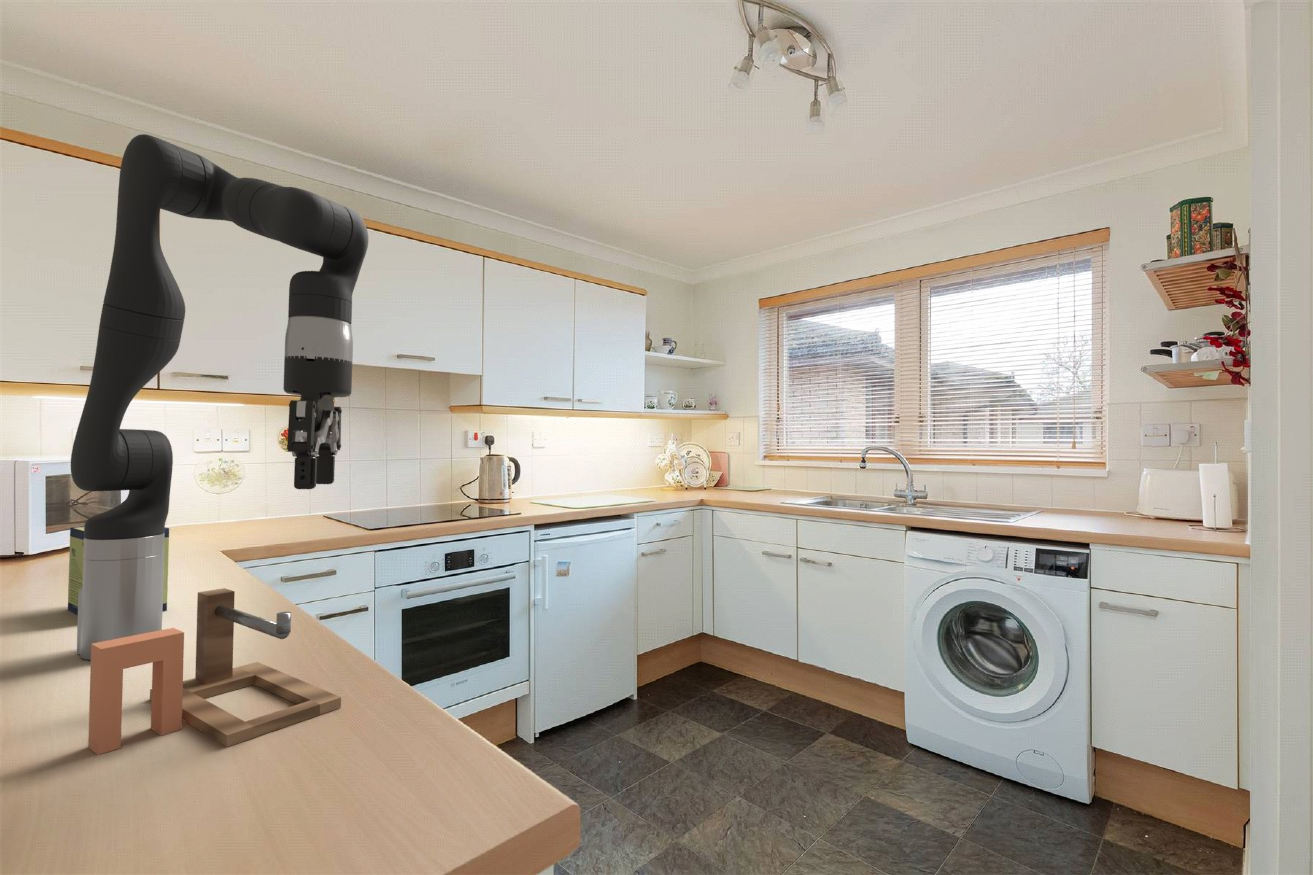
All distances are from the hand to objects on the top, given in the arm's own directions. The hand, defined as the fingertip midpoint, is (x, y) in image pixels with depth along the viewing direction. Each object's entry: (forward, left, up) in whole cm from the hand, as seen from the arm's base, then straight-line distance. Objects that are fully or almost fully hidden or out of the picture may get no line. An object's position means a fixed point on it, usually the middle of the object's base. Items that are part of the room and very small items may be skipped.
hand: (315, 486), depth 78 cm
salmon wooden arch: (-9, -14, -26) cm, 31 cm away
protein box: (-65, +23, -26) cm, 74 cm away
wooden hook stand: (-6, -4, -26) cm, 27 cm away
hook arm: (-4, -5, -17) cm, 18 cm away
